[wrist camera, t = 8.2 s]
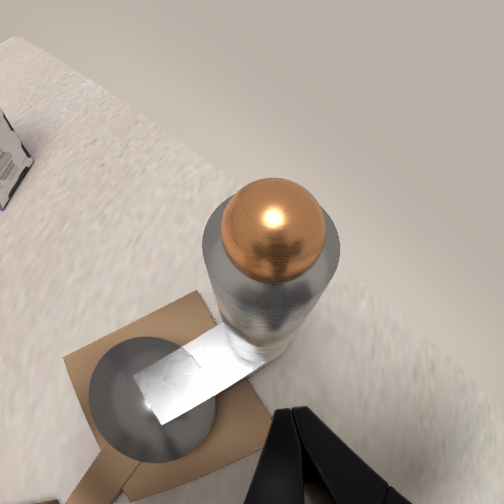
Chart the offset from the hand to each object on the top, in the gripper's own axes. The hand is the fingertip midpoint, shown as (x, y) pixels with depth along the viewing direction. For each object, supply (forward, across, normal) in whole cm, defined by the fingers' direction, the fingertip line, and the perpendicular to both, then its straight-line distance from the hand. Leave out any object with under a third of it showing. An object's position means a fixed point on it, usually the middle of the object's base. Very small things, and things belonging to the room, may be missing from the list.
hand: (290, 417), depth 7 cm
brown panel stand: (0, +9, +11) cm, 14 cm away
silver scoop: (+6, +4, +4) cm, 8 cm away
